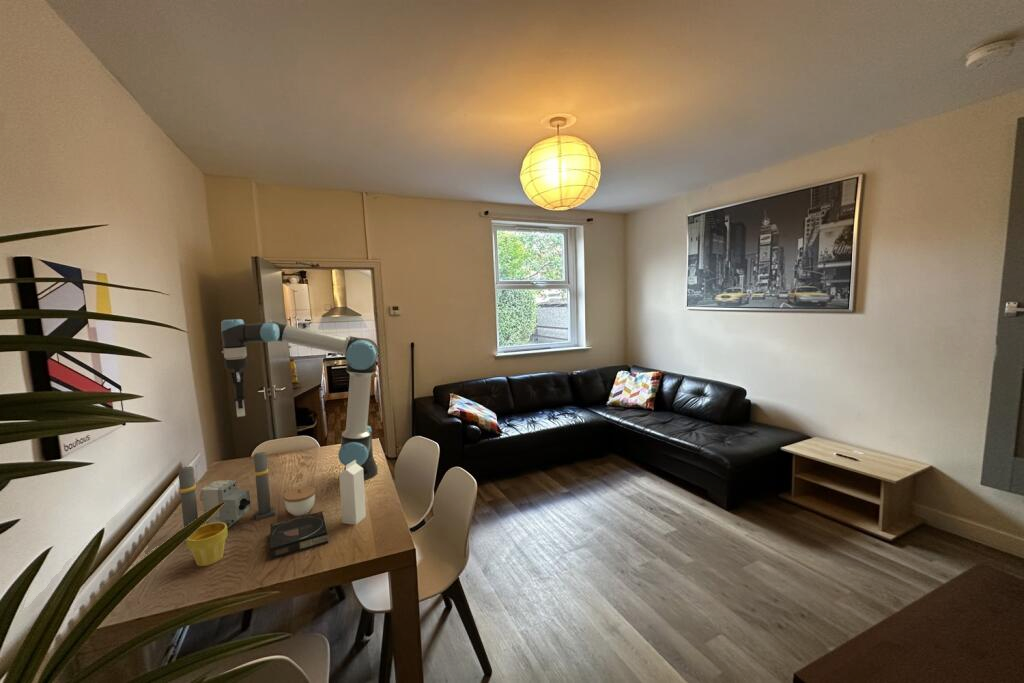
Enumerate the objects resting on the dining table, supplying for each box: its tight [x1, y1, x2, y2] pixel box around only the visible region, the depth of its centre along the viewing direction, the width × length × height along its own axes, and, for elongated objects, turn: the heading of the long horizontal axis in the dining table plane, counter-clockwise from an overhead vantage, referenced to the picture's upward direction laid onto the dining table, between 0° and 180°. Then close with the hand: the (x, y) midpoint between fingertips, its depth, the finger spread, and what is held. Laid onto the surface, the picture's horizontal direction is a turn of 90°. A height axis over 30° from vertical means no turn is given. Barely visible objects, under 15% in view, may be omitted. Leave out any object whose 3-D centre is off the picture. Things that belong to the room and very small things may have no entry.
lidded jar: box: [283, 486, 316, 517], centre depth 155 cm, size 11×11×9 cm
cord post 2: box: [253, 451, 276, 521], centre depth 153 cm, size 6×6×24 cm
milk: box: [338, 460, 367, 526], centre depth 148 cm, size 6×6×22 cm
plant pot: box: [185, 522, 229, 567], centre depth 127 cm, size 10×10×10 cm
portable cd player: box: [269, 511, 329, 560], centre depth 138 cm, size 16×17×4 cm
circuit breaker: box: [199, 480, 252, 529], centre depth 147 cm, size 8×14×15 cm, turn 89°
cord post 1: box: [177, 466, 199, 528], centre depth 140 cm, size 6×6×24 cm
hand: (241, 415), depth 163 cm, fingers closed
